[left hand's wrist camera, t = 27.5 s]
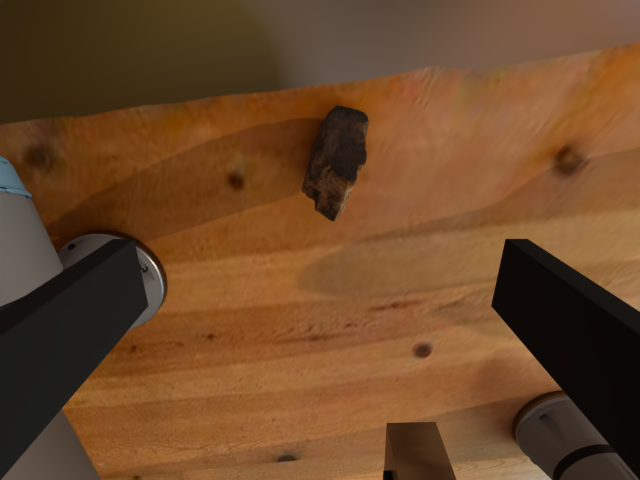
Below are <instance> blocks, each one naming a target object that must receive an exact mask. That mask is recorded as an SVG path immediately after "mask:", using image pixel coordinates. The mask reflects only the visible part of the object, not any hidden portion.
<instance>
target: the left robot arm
mask: <svg viewBox="0 0 640 480" xmlns="http://www.w3.org/2000/svg"><path fill="white" fill-rule="evenodd" d="M31 198H33V197H32V195H31V194H30V193H29V192H28V191H26V189H25V187H24V186H23V184H22V182H21V180H20V178H19V177H18V175H17V173H16V171H15V169H14V167H13V166H12V164H11V163H10V162H9V161H8V160H7V159H5V158H4V157H2V156H0V480H1V479H2V478H3V477H4V475H5V474H6V473H7V472H8V471H9V470H10V469H11V467H12V466H13V465H14V464H15V463H16V461H17V460H18V459H19V458H20V457H21V456H22V454H23V453H24V452H25V451H26V450H27V448H28V447H29V446H30V445H31V444H32V443H33V441H34V440H35V439H36V438H37V437H38V435H39V434H40V433H41V432H42V431H43V430H44V429H45V427H46V426H47V425H48V424H49V423H50V421H51V420H52V419H53V418H54V417H55V416H56V414H57V413H58V412H59V411H60V410H61V409H62V407H63V406H64V405H65V404H66V403H67V401H68V400H69V399H70V398H71V397H72V396H73V394H74V393H75V392H76V391H77V390H78V389H79V387H80V386H81V385H82V384H83V383H84V381H85V380H86V379H87V378H88V377H89V376H90V374H91V373H92V372H93V371H94V370H95V369H96V367H97V366H98V365H99V364H100V363H101V361H102V360H103V359H104V358H105V357H106V356H107V354H108V353H109V352H110V351H111V350H112V349H113V347H114V346H115V345H116V344H117V343H118V341H119V340H120V339H121V338H122V337H123V336H124V334H125V333H126V332H128V331H130V330H132V329H133V328H135V327H137V326H140V325H142V324H143V323H145V322H147V321H148V320H150V319H151V318H152V317H153V316H154V315H155V314H156V312H157V311H158V310H159V308H160V307H161V306H162V304H163V302H164V300H165V298H166V294H167V279H166V275H165V271H164V269H163V267H162V265H161V263H160V262H159V260H158V259H157V257H156V256H155V255H154V254H153V253H152V252H151V250H149V249H148V248H147V247H146V246H145V245H143V244H142V243H141V242H139V241H138V240H136V239H134V238H132V237H130V236H127V235H125V234H122V233H118V232H113V231H93V232H89V233H86V234H83V235H81V236H79V237H77V238H75V239H74V240H72V241H70V242H69V243H67V244H66V245H65V246H64V247H63V248H62V249H61V250H60V251H59V253H58V254H57V253H56V251H55V249H54V246H53V244H52V242H51V240H50V238H49V236H48V234H47V232H46V229H45V227H44V225H43V223H42V221H41V219H40V217H39V215H38V213H37V210H36V208H35V206H34V204H33V202H32V200H31ZM491 306H492V307H493V309H494V310H495V311H496V312H497V313H498V314H499V316H500V317H501V318H502V319H503V320H504V321H505V323H506V324H507V325H508V326H509V327H510V329H511V330H512V331H513V332H514V333H515V334H516V336H517V337H518V338H519V339H520V340H521V341H522V343H523V344H524V345H525V346H526V347H527V349H528V350H529V351H530V352H531V353H532V354H533V356H534V357H535V358H536V359H537V360H538V361H539V363H540V364H541V365H542V366H543V367H544V369H545V370H546V371H547V372H548V373H549V374H550V376H551V377H552V378H553V379H554V380H555V381H556V383H557V384H558V385H559V386H560V387H561V389H562V390H563V391H564V392H565V393H566V394H567V396H568V397H569V398H570V399H571V400H572V401H573V403H574V404H575V405H576V406H577V407H578V409H579V410H580V411H581V412H582V413H583V414H584V416H585V417H586V418H587V419H588V420H589V421H590V423H591V424H592V425H593V426H594V427H595V429H596V430H597V431H598V432H599V433H600V434H601V436H602V437H603V438H604V439H605V440H606V441H607V443H608V444H609V445H610V446H611V447H612V449H613V450H614V451H615V452H616V453H617V454H618V456H619V457H620V458H621V459H622V460H623V461H624V463H625V464H626V465H627V466H628V467H629V469H630V470H631V471H632V472H633V473H634V474H635V476H636V477H637V478H638V479H639V480H640V312H639V311H638V310H636V309H635V308H633V307H631V306H630V305H628V304H627V303H625V302H624V301H622V300H621V299H619V298H618V297H616V296H614V295H613V294H611V293H610V292H608V291H607V290H605V289H604V288H602V287H601V286H599V285H598V284H596V283H594V282H593V281H591V280H590V279H588V278H587V277H585V276H584V275H582V274H581V273H579V272H578V271H576V270H574V269H573V268H571V267H570V266H568V265H567V264H565V263H564V262H562V261H561V260H559V259H557V258H556V257H554V256H553V255H551V254H550V253H548V252H547V251H545V250H544V249H542V248H541V247H539V246H537V245H536V244H534V243H533V242H531V241H530V240H528V239H506V240H505V245H504V249H503V254H502V259H501V263H500V268H499V273H498V277H497V282H496V287H495V291H494V296H493V301H492V305H491Z"/></svg>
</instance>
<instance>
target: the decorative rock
mask: <svg viewBox="0 0 640 480" xmlns="http://www.w3.org/2000/svg"><path fill="white" fill-rule="evenodd" d="M368 124H369V120H368V117H367V115H366V114H365V113H363V112H361V111H359V110H356V109H351V108H347V107H343V106H336V107H335V108H334V109H332V110H331V112H329V114H328V115H327V117H326V119H325V120H324V121H323V122H322V123H321V125H320V128H319V132H318V135H317V138H316V141H315V142H314V145H313V147H312V152H311V156H310V160H309V164H308V167H307V171H306V175H305V179H304V182H303V186H302V192H303V193H305V194H306V195H307V197H309V198H311V199H313V200H314V201H315V210H316V211H317V212H320V213H321V214H322V215H324V216H325V217H326V218H328V219H329V220H331V221H333V222H335V221H337V220H338V218H339V216H340V215H341V213H342V212H343V211H344V208H345V205H346V201H347V200H348V198H349V195H350V191H351V190H352V189H353V187H354V185H355V184H356V180H357V173H358V172H359V171H360V170H361V169H362V168H364V167H365V163H366V159H367V152H366V149H365V148H366V134H367V128H368Z"/></svg>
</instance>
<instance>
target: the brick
mask: <svg viewBox="0 0 640 480" xmlns="http://www.w3.org/2000/svg"><path fill="white" fill-rule="evenodd" d="M384 470H391V472H392V477H393V480H456V477H455V475H454V472H453V469H452V466H451V463H450V461H449V458H448V455H447V452H446V450H445V447H444V444H443V441H442V439H441V436H440V433H439V430H438V427H437V425H436V422H418V423H387V429H386V448H385V466H384Z"/></svg>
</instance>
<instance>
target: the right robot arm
mask: <svg viewBox="0 0 640 480" xmlns="http://www.w3.org/2000/svg"><path fill="white" fill-rule="evenodd" d="M513 435H514V438H515V440H516V441H517V443H518V445H519V447H520V448H521V450H522V451H523V452H524V453H525V454H526V455H527V456H528V457H529V458H530V460H531V461H532V462H533V463H534V464H536V465H538V466H539V467H540V468H541V469H542V470H543V471H544V472H545V473H546V474H547V475H548V476H549V477H550V478H551V479H552V480H639V479H638V478H637V477H636V476H635V474H634V473H633V472H632V471H631V470H630V469H629V467H628V466H627V465H626V464H625V463H624V461H623V460H622V459H621V458H620V457H619V456H618V454H617V453H616V452H615V451H614V450H613V449H612V447H611V446H610V445H609V444H608V443H607V441H606V440H605V439H604V438H603V437H602V436H601V434H600V433H599V432H598V431H597V430H596V429H595V427H594V426H593V425H592V424H591V423H590V421H589V420H588V419H587V418H586V417H585V416H584V414H583V413H582V412H581V411H580V410H579V409H578V407H577V406H576V405H575V404H574V403H573V401H572V400H571V399H570V398H569V397H568V396H567V394H566V393H565V392H564V391H560V392H554V393H550V394H547V395H544V396H542V397H539V398H537V399H536V400H534V401H532V402H531V403H529V404H528V405H527V406H526V407H524V408H523V409H522V410H521V412H520V413H519V414H518V416H517V417H516V419H515V422H514V425H513ZM383 480H393V477H392V472H391V470H384V471H383Z"/></svg>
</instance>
